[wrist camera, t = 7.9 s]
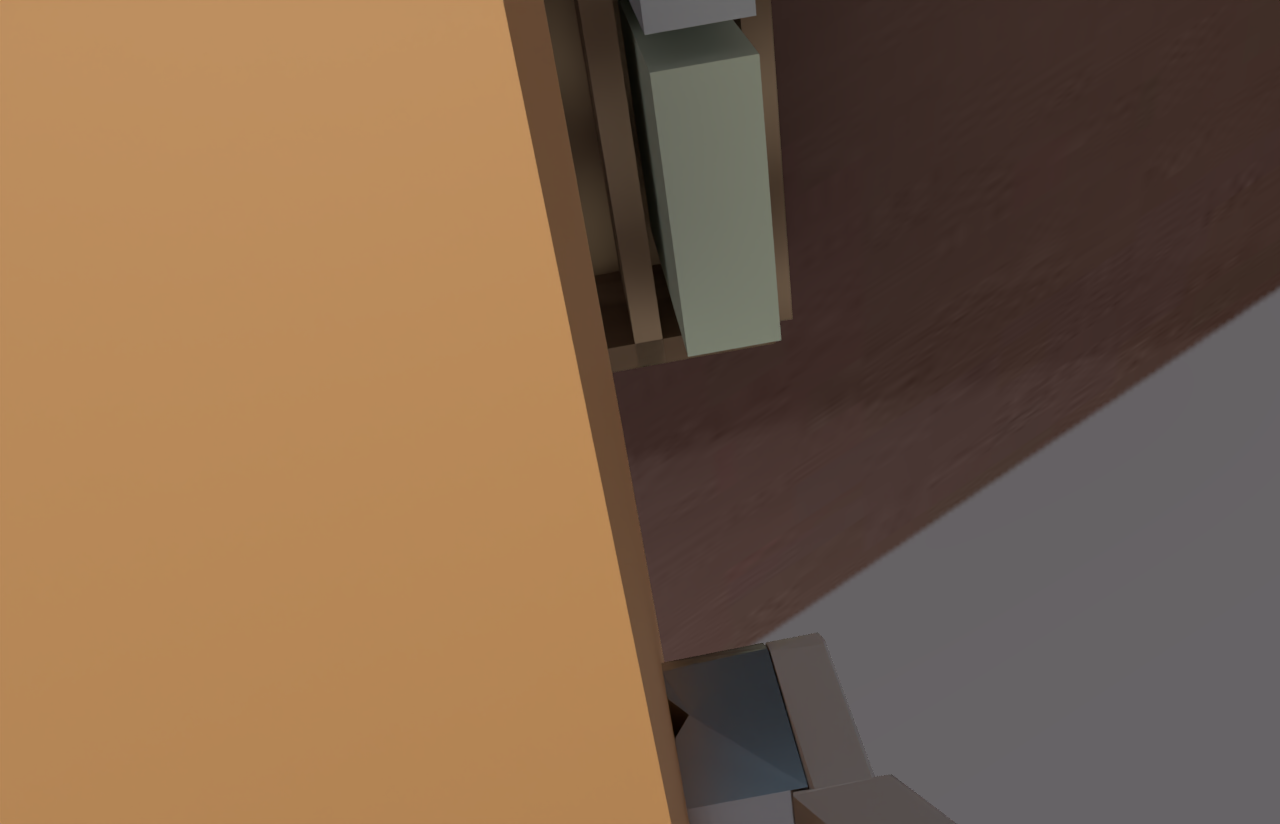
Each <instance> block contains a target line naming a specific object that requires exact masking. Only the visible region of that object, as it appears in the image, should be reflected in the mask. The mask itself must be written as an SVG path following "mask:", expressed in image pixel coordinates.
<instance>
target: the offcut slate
mask: <svg viewBox="0 0 1280 824" xmlns="http://www.w3.org/2000/svg"><path fill="white" fill-rule="evenodd" d="M629 2H630V4H631V6H632V8H633V11H634V13H635V15H636V17H637V19H638V21H639V24H640V26H641V28H642V30H643V32H644V35H648V34H654V33H659V32H665V31H671V30H676V29H682V28H688V27H694V26H699V25H705V24H711V23H716V22H722V21H728V20H734V19H739V18H745V17H751V16H756V4H755V0H629Z"/></svg>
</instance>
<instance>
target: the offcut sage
mask: <svg viewBox="0 0 1280 824" xmlns="http://www.w3.org/2000/svg"><path fill="white" fill-rule="evenodd" d="M617 1H618V7H619V14H620V21H621V28H622V35H623V42H624V48H625V55H626V62H627V69H628V76H629V83H630V89H631V96H632V103H633V110H634V117H635V124H636V130H637V137H638V144H639V151H640V158H641V165H642V171H643V178H644V185H645V192H646V199H647V206H648V212H649V219H650V226H651V232H652V235H653V239H654V242H655V245H656V249H657V252H658V256H659V259H660V263H661V266H662V269H663V273H664V276H665V280H666V283H667V286H668V290H669V293H670V297H671V300H672V304H673V307H674V310H675V314H676V317H677V321H678V324H679V327H680V331H681V334H682V338H683V341H684V345H685V348H686V351H687V355H688V357H690V356H696V355H701V354H707V353H713V352H718V351H724V350H729V349H735V348H741V347H746V346H752V345H757V344H763V343H769V342H774V341H780V340H781V331H780V318H779V305H778V292H777V279H776V266H775V253H774V240H773V227H772V214H771V201H770V187H769V174H768V161H767V148H766V135H765V122H764V109H763V96H762V83H761V70H760V57H759V53H758V51H757V50H756V49H755V48H754V46H753V45H752V44H751V42H750V41H749V40H748V39H747V37H746V36H745V35H744V33H743V32H742V31H741V30H740V28H739V27H738V26H737V24H736V23H735V22H734V21H733V20H728V21H722V22H716V23H711V24H705V25H699V26H694V27H688V28H682V29H676V30H671V31H665V32H659V33H654V34H648V35H644V32H643V30H642V28H641V26H640V24H639V21H638V19H637V17H636V15H635V13H634V11H633V8H632V6H631V4H630V2H629V0H617Z"/></svg>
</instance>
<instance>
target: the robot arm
mask: <svg viewBox="0 0 1280 824" xmlns="http://www.w3.org/2000/svg"><path fill="white" fill-rule="evenodd" d="M661 664H662V671H663V676H664V682H665V688H666V693H667V699H668V704H669V710H670V715H671V720H672V726H673V731H674V736H675V745H676V750H677V756H678V762H679V767H680V773H681V779H682V784H683V790H684V796H685V801H686V807H687V812H688V818H689V823H690V824H956V823H955V822H954V821H952V820H951V819H950V818H948V817H947V816H946V815H945V814H943V813H942V812H941V811H939V810H938V809H937V808H935V807H934V806H933V805H931V804H930V803H929V802H927V801H926V800H925V799H923V798H922V797H921V796H920V795H918V794H917V793H916V792H914V791H913V790H911V789H910V788H909V787H908V786H906V785H905V784H904V783H902V782H901V781H899V780H898V779H897V778H896V777H894V776H893V775H884V776H877V777H875V776H874V773H873V770H872V768H871V765H870V762H869V760H868V757H867V754H866V751H865V748H864V746H863V743H862V740H861V738H860V735H859V732H858V729H857V726H856V724H855V721H854V718H853V716H852V713H851V710H850V708H849V705H848V702H847V699H846V696H845V694H844V691H843V689H842V686H841V683H840V680H839V677H838V675H837V672H836V669H835V666H834V664H833V661H832V658H831V655H830V653H829V650H828V647H827V644H826V642H825V640H824V639H823V637H822V636H820V634H819V633H814V634H808V635H803V636H798V637H793V638H787V639H782V640H777V641H772V642H767V643H766V645H764V644H763V643H760V644H755V645H750V646H745V647H740V648H734V649H729V650H724V651H719V652H714V653H709V654H704V655H699V656H694V657H689V658H684V659H679V660H674V661H669V662H664V663H661Z"/></svg>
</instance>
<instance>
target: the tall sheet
mask: <svg viewBox="0 0 1280 824" xmlns="http://www.w3.org/2000/svg"><path fill="white" fill-rule="evenodd" d="M661 663H664V657H663V652H662V646H661V641H660V635H659V630H658V624H657V619H656V613H655V607H654V602H653V596H652V591H651V585H650V580H649V574H648V569H647V563H646V557H645V552H644V546H643V541H642V535H641V530H640V524H639V518H638V513H637V507H636V502H635V496H634V491H633V485H632V480H631V474H630V468H629V463H628V457H627V452H626V446H625V441H624V435H623V430H622V424H621V419H620V413H619V408H618V402H617V397H616V391H615V386H614V380H613V375H612V370H611V364H610V359H609V353H608V348H607V342H606V337H605V332H604V326H603V321H602V315H601V310H600V304H599V299H598V294H597V288H596V283H595V277H594V272H593V266H592V261H591V255H590V250H589V245H588V239H587V234H586V228H585V223H584V217H583V212H582V207H581V201H580V196H579V190H578V185H577V179H576V174H575V168H574V163H573V158H572V152H571V147H570V141H569V136H568V130H567V125H566V120H565V114H564V109H563V103H562V98H561V92H560V87H559V81H558V76H557V71H556V65H555V60H554V54H553V49H552V43H551V38H550V33H549V27H548V22H547V16H546V11H545V5H544V0H0V824H690V823H689V818H688V812H687V807H686V801H685V796H684V790H683V784H682V779H681V773H680V767H679V762H678V756H677V750H676V745H675V736H674V731H673V726H672V720H671V715H670V710H669V704H668V699H667V693H666V688H665V682H664V676H663V671H662V664H661Z"/></svg>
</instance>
